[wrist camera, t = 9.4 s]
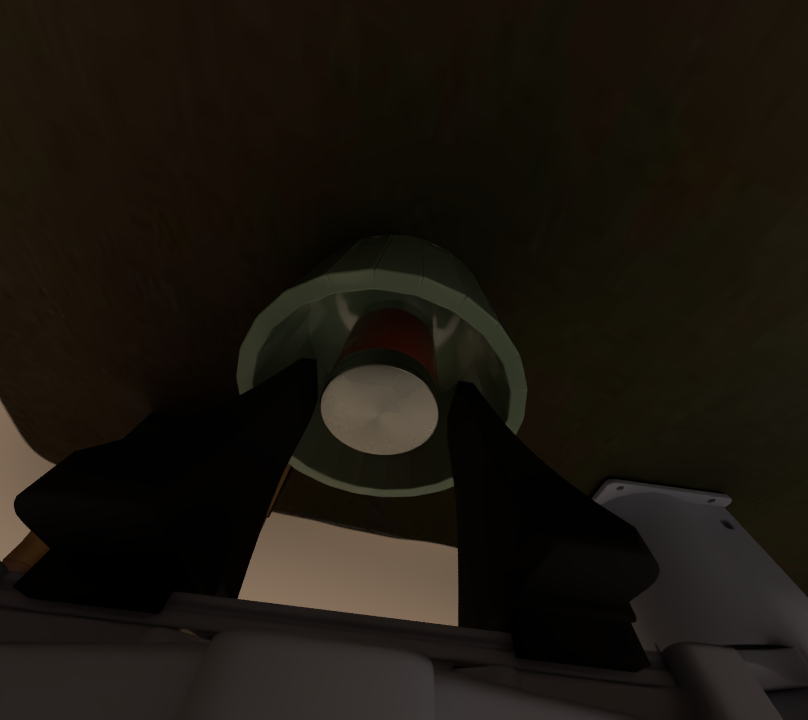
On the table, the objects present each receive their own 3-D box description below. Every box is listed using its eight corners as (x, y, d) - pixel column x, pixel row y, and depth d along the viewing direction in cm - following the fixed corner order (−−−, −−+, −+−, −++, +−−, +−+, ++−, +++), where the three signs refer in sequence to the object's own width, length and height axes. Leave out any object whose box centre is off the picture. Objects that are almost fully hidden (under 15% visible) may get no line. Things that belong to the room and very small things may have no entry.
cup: (517, 252, 14) (582, 300, 8) (462, 415, 19) (479, 510, 14) (296, 217, 13) (206, 242, 8) (305, 392, 19) (257, 481, 13)
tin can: (441, 306, 15) (452, 374, 9) (426, 377, 17) (428, 462, 12) (354, 293, 14) (317, 355, 9) (350, 367, 17) (319, 447, 12)
